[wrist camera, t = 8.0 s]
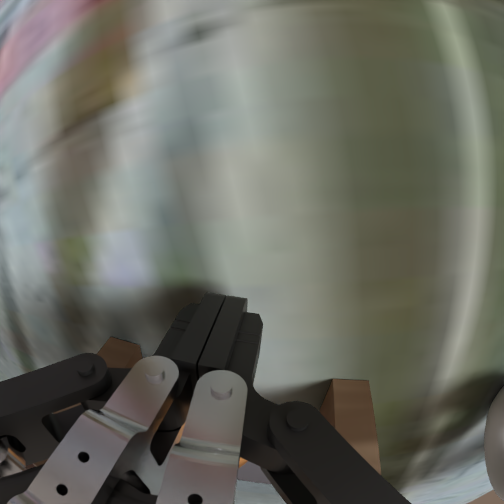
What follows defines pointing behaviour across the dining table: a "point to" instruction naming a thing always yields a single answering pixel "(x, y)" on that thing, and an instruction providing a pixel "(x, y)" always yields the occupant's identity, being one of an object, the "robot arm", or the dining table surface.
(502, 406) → the donut
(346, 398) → the bridge
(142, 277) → the dining table surface
